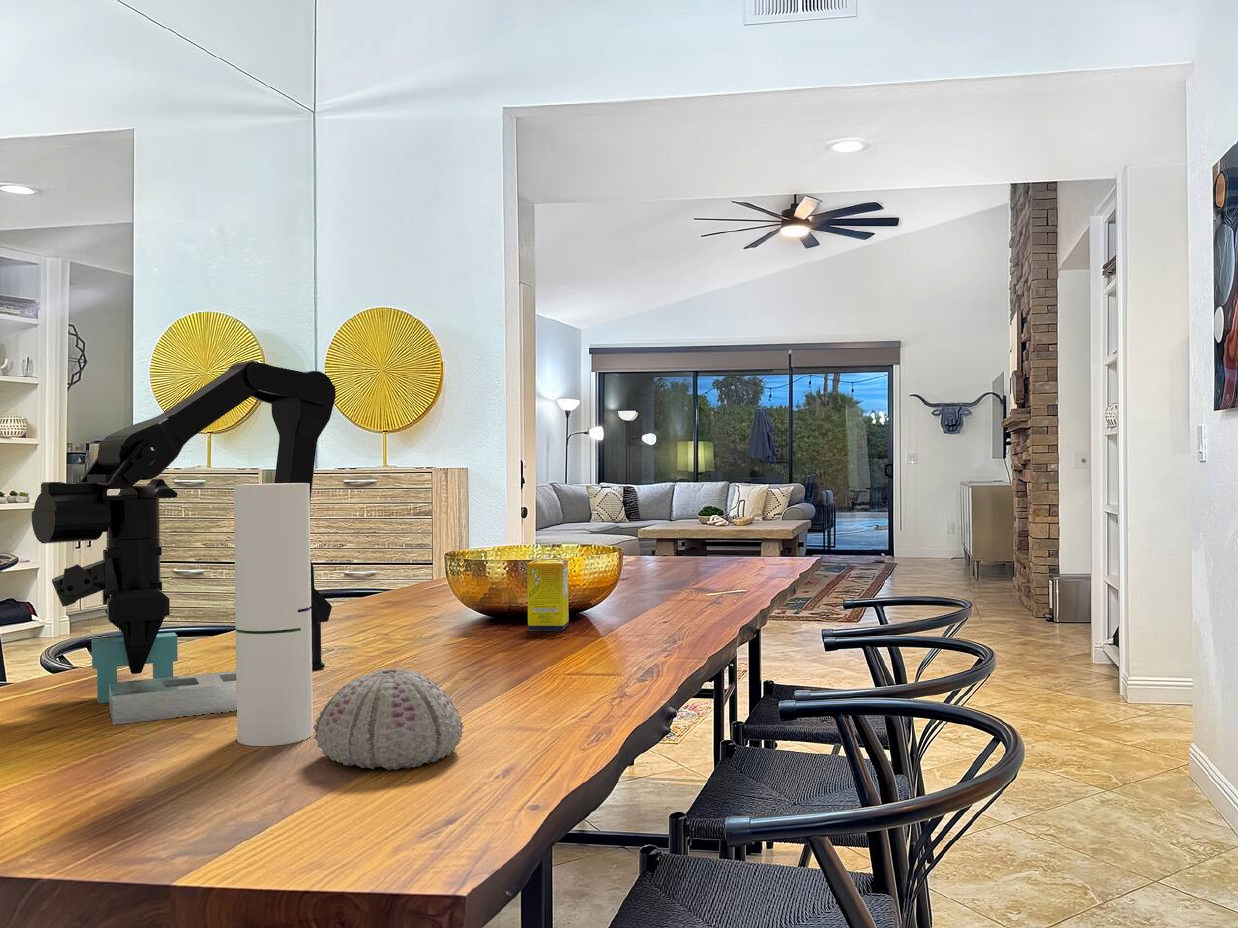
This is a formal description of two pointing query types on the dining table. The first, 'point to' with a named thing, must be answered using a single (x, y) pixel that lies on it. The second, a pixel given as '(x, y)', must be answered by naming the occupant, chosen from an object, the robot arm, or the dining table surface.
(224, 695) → the rail
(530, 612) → the supplement box
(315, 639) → the robot arm
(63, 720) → the dining table surface
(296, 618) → the cylindrical container
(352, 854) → the dining table surface
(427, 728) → the sea urchin shell
